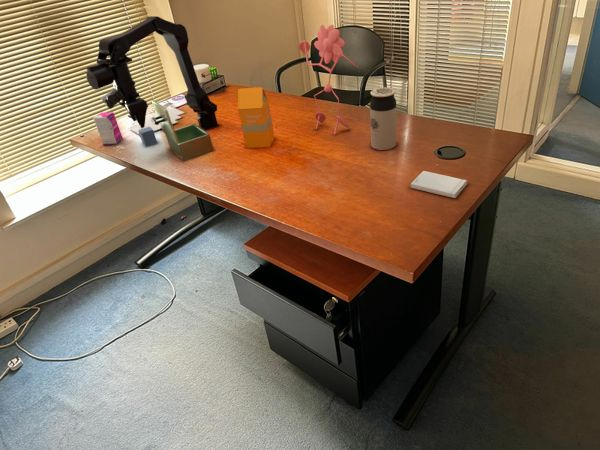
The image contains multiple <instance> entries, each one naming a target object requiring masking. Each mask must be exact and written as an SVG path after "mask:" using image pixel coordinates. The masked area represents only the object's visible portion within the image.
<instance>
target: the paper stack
mask: <svg viewBox="0 0 600 450" xmlns="http://www.w3.org/2000/svg"><path fill="white" fill-rule="evenodd" d="M164 108H165V107H164ZM165 109H167V111H168V114H169V116H170V119H171V122H172V125H174V124H177V123H178V122H179V121H178V120H179V119H182V116H180V115H182V114H186V112H185V111H183V110H180V109H178V108H176V107H174V106H169V107H166V108H165ZM152 117H153V118H156V117H158V116H157V113H156V111H155V112H151V113H149V114H146V118H145V127H144V128H146V127H151V128H152V129H153V131H154V132H155V131H158V130H160V129H161V130H162V126H161V124H160V123H159V125H155V124H154V123H153V122H152V121H151V118H152ZM157 121H159V119H158V120H157ZM132 124H133V125H132V126H130V127H128V129H129V130H130V131H132V132H133V133H135V134H138V135H139V136H140V134H139V132H138V130H140V129H143V128H141V127H140V125H139V123H138V122H137V121H135V122H132Z"/></svg>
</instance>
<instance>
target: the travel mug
mask: <svg viewBox="0 0 600 450" xmlns="http://www.w3.org/2000/svg"><path fill="white" fill-rule="evenodd" d="M395 94H396V89H394V88H392V87H385V86H384V87H377V88H374V89H372V90H371V91H370V95H371V99H370V102H369V113H370V114H369V115H370V116H369V117H370V118H369V119H370V144H371V147H372V148H373V149H375V150H377V151H387V150H388V151H389V150H392V149H393V148H395V147H396V146H397V99H396V97H395Z"/></svg>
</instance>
